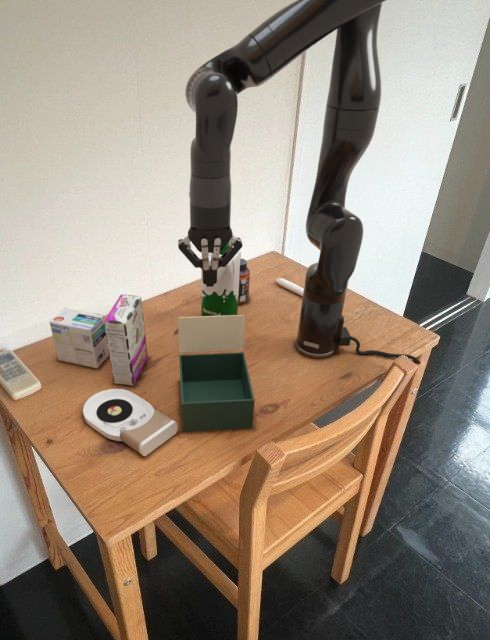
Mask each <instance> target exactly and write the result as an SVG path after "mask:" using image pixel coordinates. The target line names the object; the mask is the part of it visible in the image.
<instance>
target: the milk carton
mask: <svg viewBox="0 0 490 640" xmlns="http://www.w3.org/2000/svg"><path fill="white" fill-rule="evenodd" d="M229 242H230V241H229ZM229 242H228V243H227V245H226V246H225V247H224V248H223V250H222V251H220V253H219V258H220V257H221V256H222V255H223V253H224V252H225V251H226V250H227V249H228V247H229ZM208 256H209V267H210V266H211V253H208ZM198 258H199V259H202V255H201V256H199V257H198ZM241 259H242V251H241V250H239V251H238V252H237V254H236V255H235V256H234V257H233V258H232V260H231V261H230V262H229V263H228V264H227V266H226V267H219V268H218V270H217V283H216V284H214V287H206V284H204V283H203V270H202V269H201V268H200V273H201V274H200V275H201V277H200V281H201V282H200V284H201V285H200V286H201V287H200V288H201V289H200V290H201V291H200V292H201V293H200V294H201V308H200V309H201V311H200V314H201V316H224V315H238V311H239V309H238V308H239V304H238V295H239V272H240V260H241Z"/></svg>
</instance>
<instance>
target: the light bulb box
mask: <svg viewBox="0 0 490 640" xmlns="http://www.w3.org/2000/svg"><path fill="white" fill-rule="evenodd" d="M105 318H106V316H105V314H100V313H95V312H87V311H82V310H77V309H72V308H68V307H67V308H66V307H64V308H62V309H61V310H60V311H59V312H58V313H57V314H56V315H55V316H54V317H53V318H51V319H50V320H49V321H48V322H49V327H50V331H51V334H52V339H53V344H54V347H55V351H56V355H57V360H58V361H61V362H65V363H69V364H70V363H71V364H75V365H80V366H84V367H88V368H93V369H99V368H100V367H101V365H102V364H103V363H104V362H105V361H106V360H107V359H108V357H110V355H109V349H108V344H107V338H106V332H105V327H104V320H105Z"/></svg>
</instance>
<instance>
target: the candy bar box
mask: <svg viewBox="0 0 490 640" xmlns="http://www.w3.org/2000/svg"><path fill="white" fill-rule="evenodd" d="M142 303H143V301H142V296H141V295H132V294H120V295H119V296H118V298H117V299H116V301H115V303H114V304H113V306H112V307H111V309H110V310H109V312H108V314H107V315H106V316H105V320H104V327H105V332H106V338H107V344H108V349H109V362H110V368H111V372H112V378H113V383H114V384H115V385H122V386H131V387H134V386H135V385H136V382H137V381H138V378H139V377H140V374H141V373H142V370H143V369H144V366H145V364H146V363H147V360H148V358H149V355H148V347H147V346H148V345H147V339H146V328H145V319H144V318H145V317H144V311H143V304H142Z"/></svg>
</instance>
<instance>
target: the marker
mask: <svg viewBox="0 0 490 640" xmlns="http://www.w3.org/2000/svg"><path fill="white" fill-rule="evenodd" d="M276 283H277V284H278V285H279V286H281V287H282V288H284V289H287V290H288V291H290V292H292V293H295V294H296V295H299V296H300V297H302V298H303V292H304V287H302V286H300V285H297V284H296V283H293V282H291V281H289V280H287V279H285V278H283V277H279V278H276Z"/></svg>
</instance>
